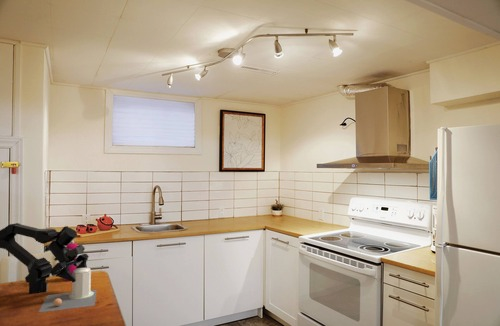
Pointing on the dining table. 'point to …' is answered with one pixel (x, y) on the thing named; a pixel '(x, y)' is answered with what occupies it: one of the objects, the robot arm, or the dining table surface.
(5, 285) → the dining table surface
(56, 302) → the ball
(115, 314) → the dining table surface
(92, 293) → the board
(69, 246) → the pepper mill
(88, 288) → the salt shaker
